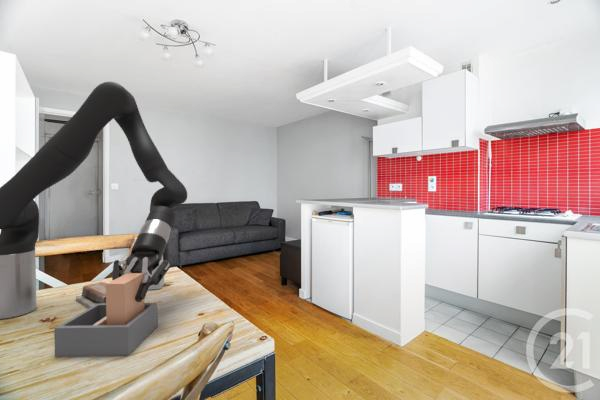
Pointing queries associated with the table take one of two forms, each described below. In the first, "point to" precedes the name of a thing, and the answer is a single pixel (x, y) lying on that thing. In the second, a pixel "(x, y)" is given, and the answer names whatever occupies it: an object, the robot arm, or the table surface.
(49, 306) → the table surface
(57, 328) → the grey open tray
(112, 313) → the salmon rectangular block
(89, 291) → the packaged product
